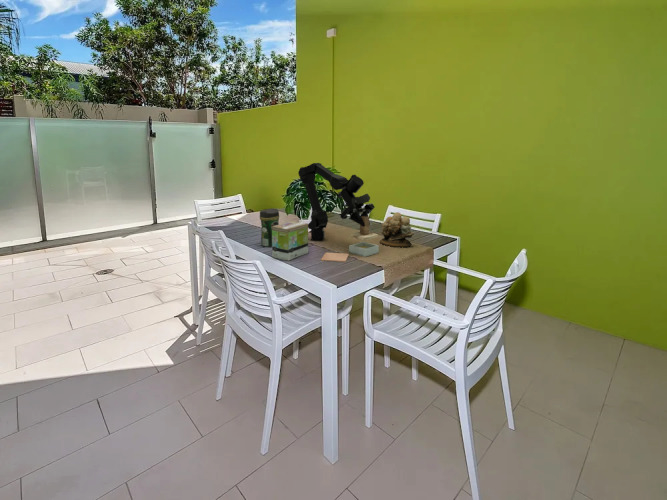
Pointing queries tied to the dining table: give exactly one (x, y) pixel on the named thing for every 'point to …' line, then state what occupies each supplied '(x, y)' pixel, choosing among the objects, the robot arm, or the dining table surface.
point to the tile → (335, 257)
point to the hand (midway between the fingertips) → (366, 225)
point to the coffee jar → (268, 225)
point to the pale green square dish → (364, 249)
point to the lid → (364, 231)
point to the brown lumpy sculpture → (396, 231)
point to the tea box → (289, 240)
